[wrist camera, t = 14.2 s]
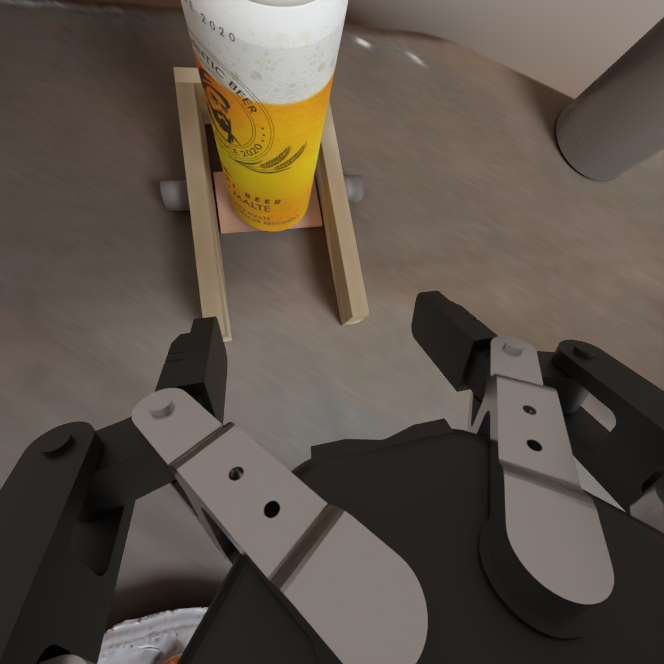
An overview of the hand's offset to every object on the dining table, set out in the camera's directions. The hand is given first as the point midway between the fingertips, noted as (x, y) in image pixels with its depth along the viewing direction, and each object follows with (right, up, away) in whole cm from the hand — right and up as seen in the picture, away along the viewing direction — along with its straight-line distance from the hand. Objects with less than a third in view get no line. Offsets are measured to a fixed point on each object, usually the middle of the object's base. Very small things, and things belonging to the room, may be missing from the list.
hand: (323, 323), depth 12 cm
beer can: (-5, +10, +12) cm, 17 cm away
